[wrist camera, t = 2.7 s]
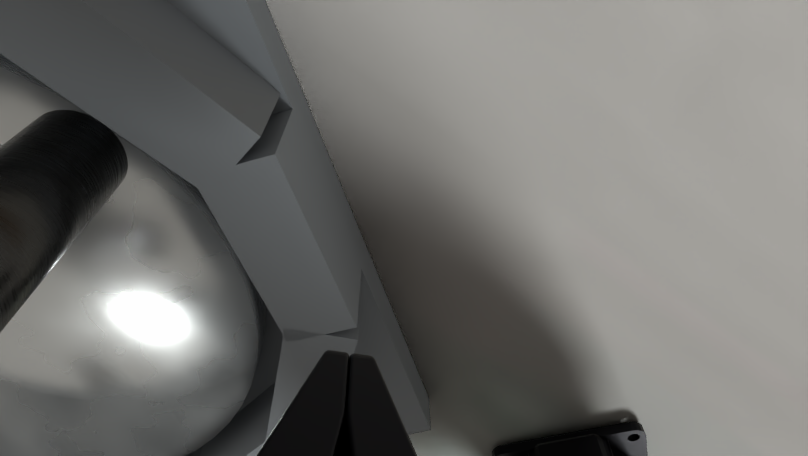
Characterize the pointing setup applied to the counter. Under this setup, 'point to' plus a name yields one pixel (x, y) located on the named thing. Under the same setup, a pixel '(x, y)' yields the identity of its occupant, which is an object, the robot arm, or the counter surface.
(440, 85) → the counter surface
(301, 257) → the grey round platform
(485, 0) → the counter surface
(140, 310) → the dial
